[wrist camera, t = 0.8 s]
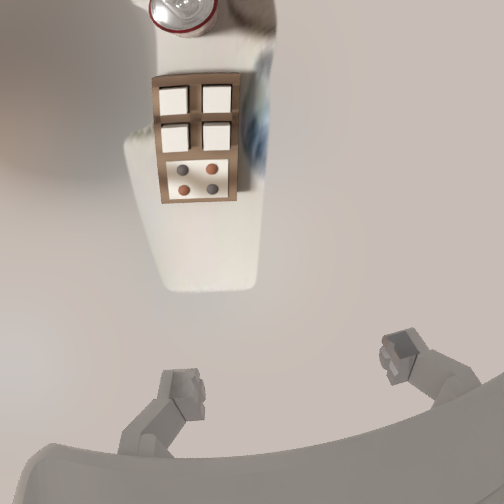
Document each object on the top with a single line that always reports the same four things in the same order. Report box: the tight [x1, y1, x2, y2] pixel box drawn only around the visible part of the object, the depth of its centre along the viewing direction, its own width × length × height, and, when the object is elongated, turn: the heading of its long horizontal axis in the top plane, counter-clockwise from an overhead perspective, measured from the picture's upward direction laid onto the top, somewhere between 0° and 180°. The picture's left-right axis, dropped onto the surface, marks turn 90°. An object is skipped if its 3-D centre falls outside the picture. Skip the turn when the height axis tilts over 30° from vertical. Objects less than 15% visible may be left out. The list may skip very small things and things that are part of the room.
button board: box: [152, 73, 240, 204], centre depth 41 cm, size 20×12×3 cm, turn 177°
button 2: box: [159, 86, 188, 116], centre depth 35 cm, size 4×4×2 cm
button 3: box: [203, 122, 230, 151], centre depth 39 cm, size 4×4×2 cm
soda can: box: [149, 0, 218, 38], centre depth 26 cm, size 7×7×12 cm
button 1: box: [161, 123, 189, 153], centre depth 39 cm, size 4×4×2 cm
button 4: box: [203, 85, 231, 113], centre depth 36 cm, size 4×4×2 cm
